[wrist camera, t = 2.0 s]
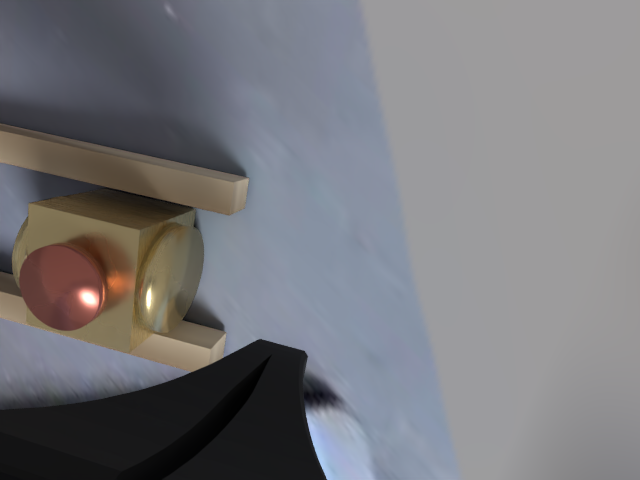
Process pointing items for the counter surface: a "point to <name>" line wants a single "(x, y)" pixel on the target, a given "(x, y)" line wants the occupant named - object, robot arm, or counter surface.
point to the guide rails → (140, 178)
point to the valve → (107, 266)
